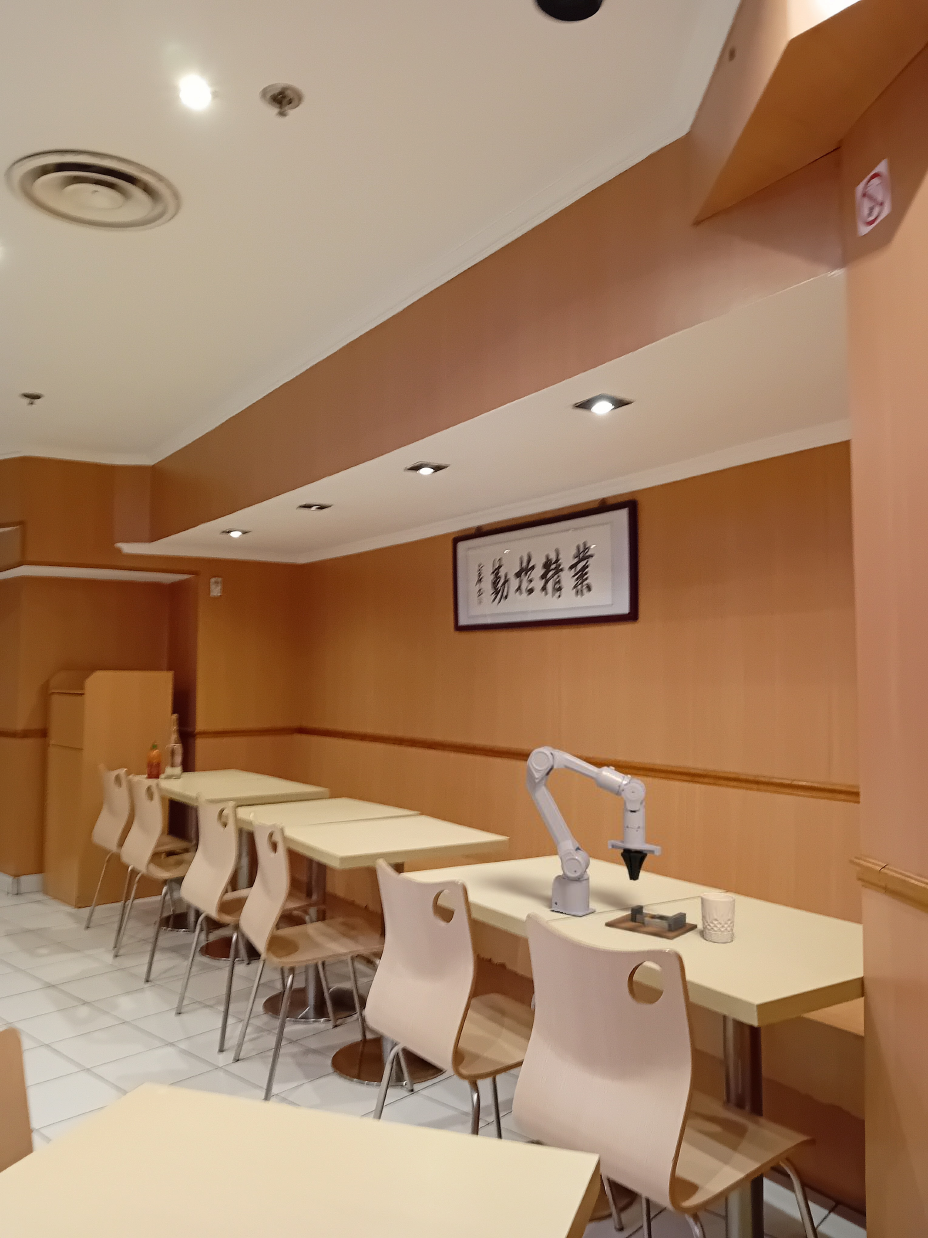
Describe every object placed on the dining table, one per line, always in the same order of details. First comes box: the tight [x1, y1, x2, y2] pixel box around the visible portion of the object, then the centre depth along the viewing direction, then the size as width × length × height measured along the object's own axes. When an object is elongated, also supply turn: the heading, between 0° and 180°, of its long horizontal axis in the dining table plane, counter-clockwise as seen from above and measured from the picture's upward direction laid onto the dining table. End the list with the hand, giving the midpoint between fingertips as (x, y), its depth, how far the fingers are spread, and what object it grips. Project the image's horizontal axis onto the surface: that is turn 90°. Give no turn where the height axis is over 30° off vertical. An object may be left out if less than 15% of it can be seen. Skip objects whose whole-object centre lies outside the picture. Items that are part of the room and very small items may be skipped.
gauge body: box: [645, 911, 687, 932], centre depth 222 cm, size 8×7×3 cm
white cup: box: [700, 892, 736, 944], centre depth 214 cm, size 8×8×10 cm
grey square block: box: [630, 904, 661, 924], centre depth 224 cm, size 6×6×3 cm
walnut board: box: [604, 912, 698, 941], centre depth 224 cm, size 18×14×1 cm
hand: (634, 879), depth 234 cm, fingers closed
